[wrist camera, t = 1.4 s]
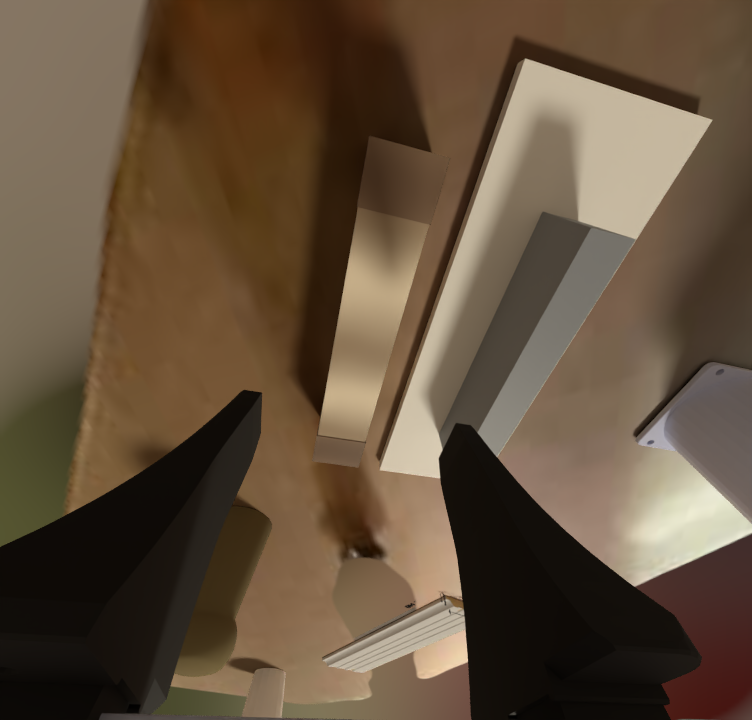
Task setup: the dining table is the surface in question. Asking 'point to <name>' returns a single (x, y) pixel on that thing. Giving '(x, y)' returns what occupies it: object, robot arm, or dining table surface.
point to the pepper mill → (223, 593)
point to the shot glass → (265, 694)
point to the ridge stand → (534, 252)
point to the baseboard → (401, 636)
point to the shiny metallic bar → (376, 289)
